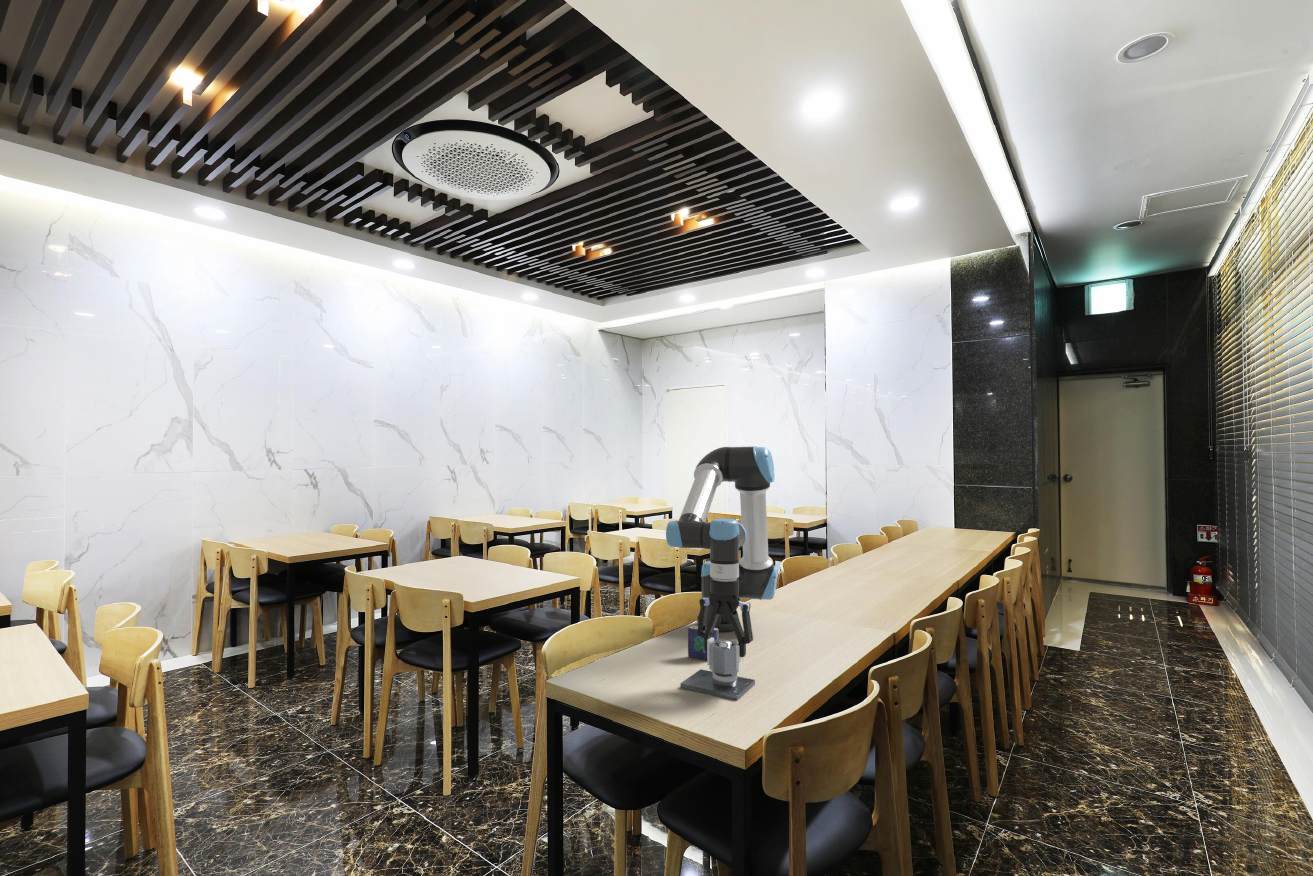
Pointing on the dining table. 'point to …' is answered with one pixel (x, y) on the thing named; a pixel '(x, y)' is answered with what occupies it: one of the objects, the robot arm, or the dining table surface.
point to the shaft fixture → (718, 682)
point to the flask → (698, 643)
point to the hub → (722, 658)
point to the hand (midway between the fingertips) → (724, 666)
